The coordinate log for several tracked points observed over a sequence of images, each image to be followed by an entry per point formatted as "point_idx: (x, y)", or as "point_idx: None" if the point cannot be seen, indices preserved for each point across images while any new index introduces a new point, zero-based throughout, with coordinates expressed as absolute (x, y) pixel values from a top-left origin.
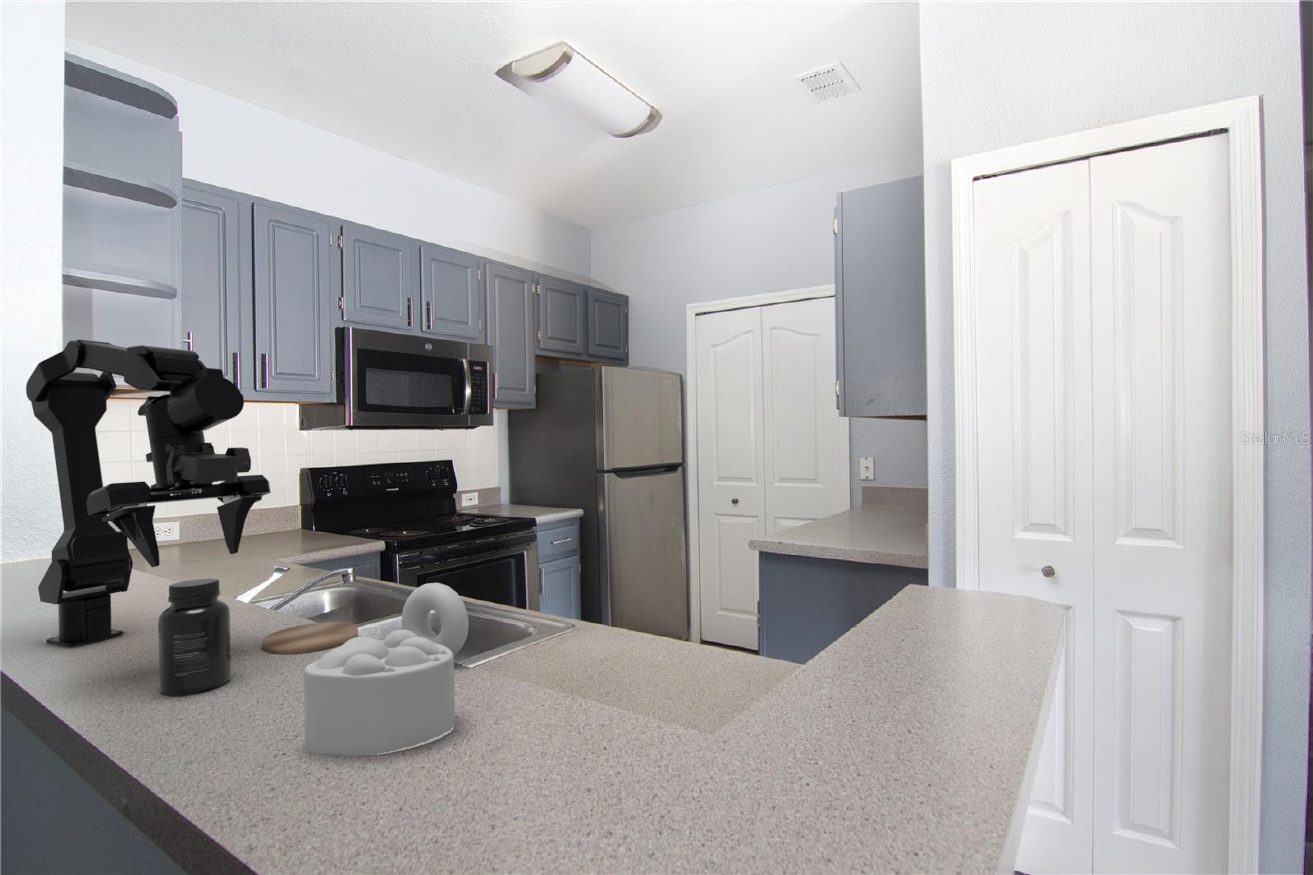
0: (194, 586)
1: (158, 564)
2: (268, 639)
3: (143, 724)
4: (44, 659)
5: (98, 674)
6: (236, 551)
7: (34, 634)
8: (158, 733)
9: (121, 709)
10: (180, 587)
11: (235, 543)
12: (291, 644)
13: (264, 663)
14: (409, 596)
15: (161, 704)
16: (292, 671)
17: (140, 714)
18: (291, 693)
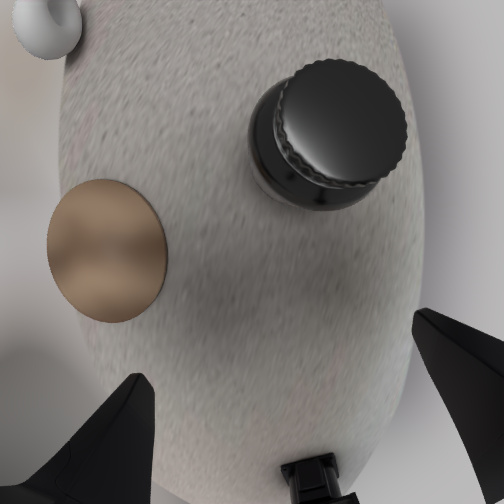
0: (359, 65)
1: (419, 310)
2: (150, 284)
3: None
4: (363, 431)
5: (360, 335)
6: (134, 375)
7: None
8: (361, 43)
9: None
10: (389, 88)
11: (125, 394)
12: (134, 219)
13: (189, 184)
14: (34, 19)
15: None
16: (179, 109)
17: None
18: (220, 33)
